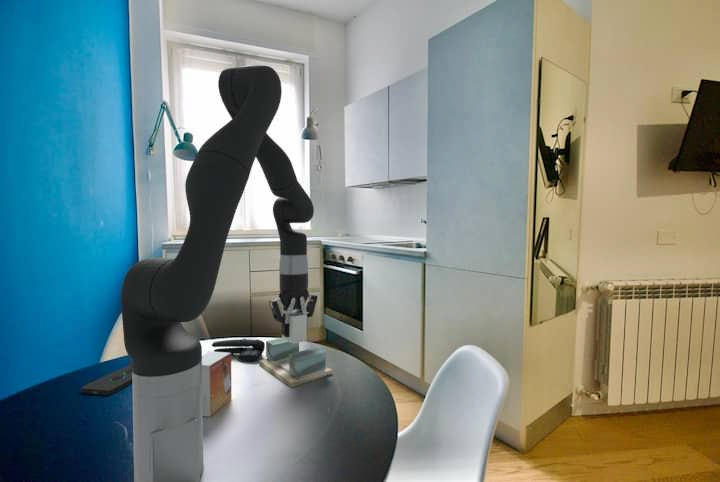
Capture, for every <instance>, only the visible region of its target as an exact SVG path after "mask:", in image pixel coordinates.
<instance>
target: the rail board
mask: <svg viewBox="0 0 720 482" xmlns="http://www.w3.org/2000/svg"><path fill="white" fill-rule="evenodd" d="M265 351H266V352H265V354H266V355H265V357H266V358H264V359H261V360H259V366H261V367H262V368H263V369H264V370H266V371H268V372H269V373H270V374H271V375H273V376H274V377H275V378H277V379H278V380H279V381H281V382H282V383H284V384H285V385H287V386H288V387H290V388H294V387H296V386H299V385H300V386H301V385H303V384H305V383H308V382H309V383H310V382H312V381H315V380H318V379H321V378H324V377H328V376H330V375H332V374H333V369H332V368H330V367H329V366H326V365H327V364H326V361H327V358H326V354H327V353H326V351H325V350H322V349H320V348H318V347H312V348H309V349H308V348H307V349H304V350H300V342H299V343H295V344H292V343H290V342H288V341H286V340H285V339H283V338H282V337H278V338H273V339H269V340H266V341H265ZM327 375H328V376H327Z"/></svg>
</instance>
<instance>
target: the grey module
mask: <svg viewBox="0 0 720 482" xmlns="http://www.w3.org/2000/svg"><path fill="white" fill-rule="evenodd" d="M289 327H290V336H289V337H287V338H286V337H284V335H281V338H283V339H285V340H286V341H288V342H290V343H292V344H295V343H299V344H300V343H303V342H307V320H306V314H304V313H302V312H299V311H297V310H296V309H295V310H293V311H292V315H291V316H290V320H289Z"/></svg>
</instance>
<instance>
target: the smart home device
mask: <svg viewBox="0 0 720 482" xmlns="http://www.w3.org/2000/svg"><path fill="white" fill-rule="evenodd" d="M130 385H132V363H131V364H129V365H126V366H125V367H122V368H120V369H118V370H116V371H114V372H112V373H109V374H107V375H105V376H103V377H100V378H98V379H96V380H94V381H92V382H89V383H88V384H86V385H84V386H83V385H82V387H81V388H80V389H81V392H80V393H81V394H91V395H101V396H112V395H113V394H115V393H117V392H119V391H120V390H122V389H125V388H126V387H128V386H130Z"/></svg>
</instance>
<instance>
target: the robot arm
mask: <svg viewBox="0 0 720 482" xmlns="http://www.w3.org/2000/svg"><path fill="white" fill-rule="evenodd" d="M217 83H218V93H219V96H220V99H221V101H222V103H223V105H224V107H225V109H226V111H227V113H228V115H229V116H230V118H231V119H230V120H229V122H227V123H226V124H224V125H223V126H222V127H220V128H219V129H218V130H216V132H214V133H213V134H212V135H211V136H209V138H208V139H207V140H205V142H204V143H203V144H202V145H201V147H200V148H199V150H198V151H197V153H196V155H195V157H194V159H193V162H192V164H191V166H190V168H189V171H188V173H187V176H186V179H185V184H184V187H185V197H186V201H187V203H186V204H187V207H188V211H189V225H188V228H187V233H186V235H185V237H184V240H183V243H182V246H181V248H180V249H179V251H178V253H177V254H176V256H175V257H174V258H172V257H150V258H149V257H148V258H144V259H142V260H139V261H137V262H135V263H134V264H133V265H132V266H131V267H130V268H129V269H128V271H127V273H126V275H125V276H124V278H123V281H122V285H121V293H120V297H121V298H120V301H121V302H120V303H121V304H120V306H121V319H122V320H121V321H122V332H123V341H124V342H123V343H124V349H125V351H126V354H127V355H128V357H129V359H130V361H131V364H132V384H131V385H132V391H131V392H132V430H133V431H132V435H133V439H132V440H133V441H132V442H133V474H134V475H133V479H134V481H133V482H201V475H202V473H203V471H204V466H205V465H204V423H203V420H204V419H203V418H204V416H203V404H202V356H203V350H202V349H203V348H202V343H201V341H200V340H199V339H198V338H197V337H195V336H193V335H192V334H191V333H189V331H187V330H186V328H185V327H184V326H183V324H182V323H188V322H191V321H194V320H196V319H197V318H199V317H200V316H201V315H202V314H203V313H204V311H205V310H206V309H207V306H208V305H209V303H210V301H211V299H212V296H213V293H214V291H215V287H216V284H217V279H218V276H219V275H218V274H219V271H220V267H221V263H222V260H223V256H224V250H225V247H226V243H227V241H228V240H227V239H228V237H229V232H230V231H231V227H232V224H233V220H234V218H235V215H236V213H237V209H238V207H239V203H240V201H241V199H242V197H243V194H244V191H245V190H246V187H247V184H248V180H249V178H250V174H251V171H252V167H253V165H254V162H255V159H256V160H257V162H258V164H259V165H260V168H261V169H262V172H263V175H264V178H265V180H266V182H267V184H268V187H269V189H270V191H271V193H272V195H274V196H275V197H277V198H276V199H275V201H274V203H273V205H272V214H273V217H274V222H275V224H276V229H277V232H278V237H279V245H280V246H279V247H280V248H279V250H280V251H279V253H280V255H279V262H278V263H279V264H278V265H279V267H278V271H279V295H278V297H277V298H275V299H269V301H268V305H269V308H270V310H271V313H272V315H273V318H274V321H275V322H278V323H280V324H281V334H282V335H284V337H286V338H287V337H289V336H290V327H289V320H290V316H291V315H292V311H293V310H296V311H299V312H302V313H304V314H306V321H307V320H308V318H311V317H313V316H314V313H315V309H316V305H317V302H318V298H319V297H318V295H316V294H312V293H311V294H310V293H309V291H308V288H309V261H308V239H307V238H308V237H307V235H306V233H304V232H302V231H296V230H294V229H293V228H292V226H291V224H306V223H309V222H310V221H311V220H312V219H313V217H314V214H315V213H314V212H315V210H314V209H315V208H314V204H313V202H312V199H311V197H310V196H309V195H308V194H307V192H306V191H305V189H304V188H303V186H302V185H301V183H300V182H299V181H298V178H297V175H296V173H295V169H294V166H293V163H292V161H291V159H290V158H289V156H288V154H287V153H286V152H285V151H284V149H283V148H282V147H281V146H280V144H278V143H277V142H276V141H274V139H273V138H272V137H271V136H270V135H269V134H268V133H267V131H268V130H269V128H270V126H271V124H272V122H273V120H274V119H275V116H276V114H277V112H278V111H279V108H280V104H281V100H282V94H283V92H282V91H283V89H282V82H281V79H280V76H279V73H277V71H276V70H275V69H274V68H272V67H271V66H269V65H264V64H251V65H250V64H249V65H240V66H231V67H226V68H224V69H223V70H222V71H220V74H219V76H218V81H217ZM306 302H307V304H306ZM281 304H282V307H281V308H282V309H281V310H280V306H281ZM282 335H281V336H282Z"/></svg>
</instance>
